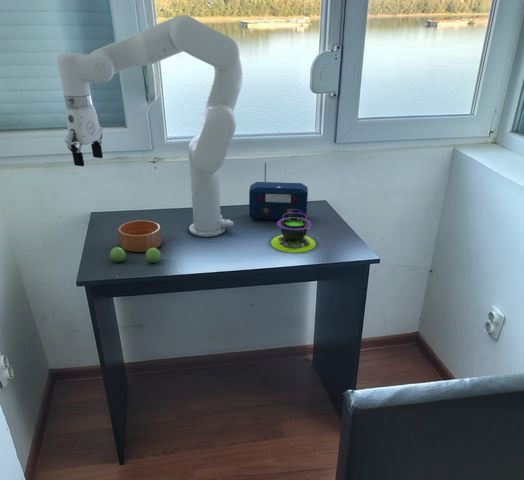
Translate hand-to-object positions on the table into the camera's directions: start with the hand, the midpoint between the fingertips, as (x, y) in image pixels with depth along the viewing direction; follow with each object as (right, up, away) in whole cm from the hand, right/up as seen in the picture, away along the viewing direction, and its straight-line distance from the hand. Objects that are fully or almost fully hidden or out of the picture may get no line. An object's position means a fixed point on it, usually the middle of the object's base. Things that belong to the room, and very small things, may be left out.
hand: (89, 161), depth 162 cm
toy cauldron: (+65, -23, +14) cm, 70 cm away
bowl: (+14, -24, +10) cm, 30 cm away
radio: (+60, -10, +32) cm, 69 cm away
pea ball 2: (+20, -30, -1) cm, 36 cm away
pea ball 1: (+9, -29, -1) cm, 31 cm away
